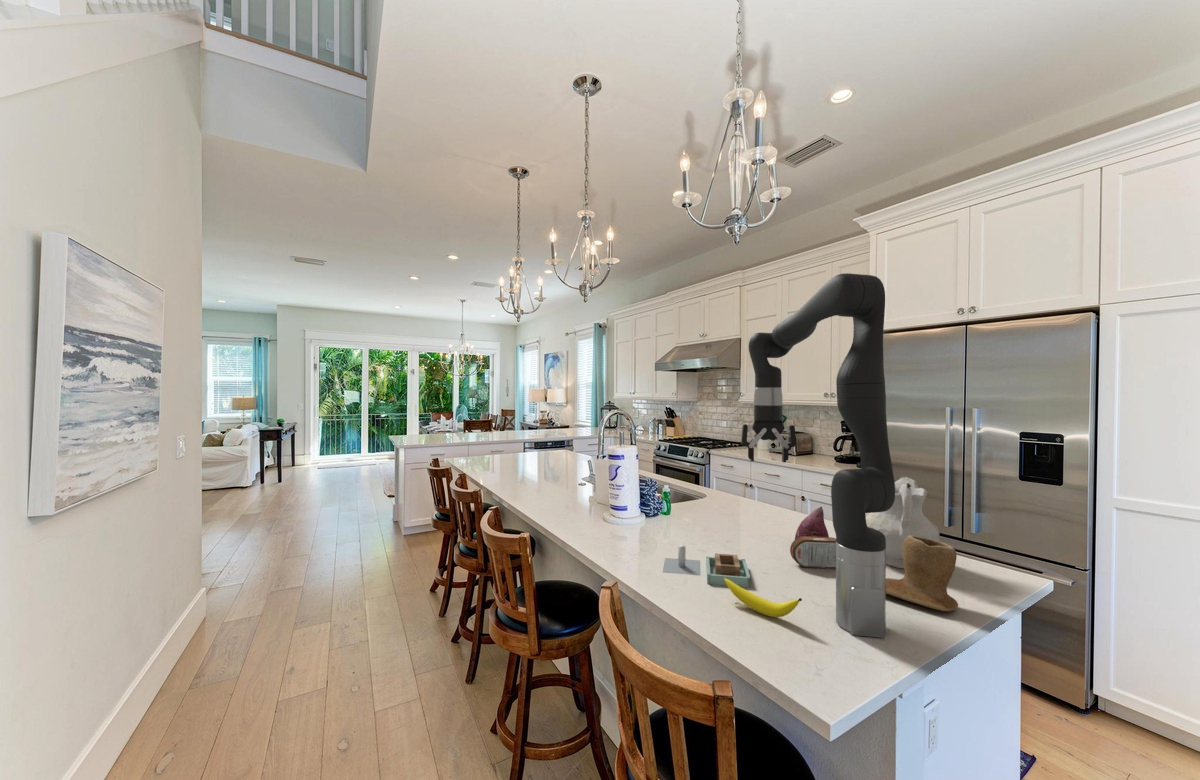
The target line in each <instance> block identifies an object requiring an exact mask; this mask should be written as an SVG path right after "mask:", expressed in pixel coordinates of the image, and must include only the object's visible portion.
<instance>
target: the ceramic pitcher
mask: <svg viewBox="0 0 1200 780" xmlns="http://www.w3.org/2000/svg"><path fill="white" fill-rule="evenodd" d="M927 495H928V491H927V489H925V488H922V487H919V486H918V484H917V480H915V479H912V478H910V477H908V476H903V475H901V476H900V477H899V479H897V480H896V481H895V500H894V503H893V505H892V507H891V508H890V509H889V510H887V511H884V512H876V513H866V514H865V515H866V523H867V526H868V527H870V528H873V529H876V530H878V531H880V532H882V533H883V534H884V535H885V538H886V565H887V566H890V567H893V568H895V569H896V568H897V569H904V563H903V556H902V548H903V542H904V540H905V538H906V537H907V536H909V535H911V536H917V537H923V538H927V539H931V540H935V541H939V542H940V531H939V528H938V526H937V525H936V524H935V523H934V522H933V521H931V520H930V519H928V517H926V516H925V515H924V512H923V504H924V501H925V500H926V497H927Z"/></svg>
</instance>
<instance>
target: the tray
mask: <svg viewBox="0 0 1200 780" xmlns="http://www.w3.org/2000/svg"><path fill="white" fill-rule="evenodd" d="M738 560H739V564H740V576H729V575H716V574H715V556H706V557H705V567H706V568H705V571H706V584H707V585H717V586H719V585H720V586H727V584H726V583H725V580H724V578H726V579H728V580H730V581H732V582H733V583H735V584H736V585H738V586H740V587H741V588H751V587H752V586H751V585H752V583H751V575H750V572H749V571H750V570H749V568H748V565H747V561H746V559H745V558H744V559H743V558H738Z"/></svg>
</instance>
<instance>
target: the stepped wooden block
mask: <svg viewBox="0 0 1200 780" xmlns="http://www.w3.org/2000/svg"><path fill="white" fill-rule="evenodd" d="M714 557H715V574H716V575H729V576H740V564H739V560H738V559H739V557H738V555H737V554H727V553H714Z"/></svg>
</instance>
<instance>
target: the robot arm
mask: <svg viewBox="0 0 1200 780" xmlns="http://www.w3.org/2000/svg"><path fill="white" fill-rule="evenodd" d="M885 312H886V290H885V286H884V283H883V282H882V280H881V279H880V278H879V277H878V276H875V275H871V274H863V273H862V274H860V273H859V274H858V273H849V272H847V273H840V274H837V275H834V276H833V277H832V278H830V279H829V280H828V281H826V283H824V285H822V286H821V288H820V289H819V290H817V292H816V293H815V294H814V295H812V296H811V297H810V298H809V299H808V300H807V301H806V303H804V304H803V306H802V307H800V308H799V309H798V310H796V311H795V312H793V314H791V315H790V316H788V317H786V318H785V319H783V320H782V321H780V322H779V323H777V325H775V326H774V328H773V329H772V332H756V333H753V334H752V336H751V337H750V339H749V341H748V353H749V357H750V359H751V363H752V366H753V370H754V394H753V395H754V397H753V424H746V423H742V427H741V442H740V443H741V445H742V446H745V447H746V448H747V458H748V460H750V462H755V448H754V446H755V445H756V444H758V442H759V441H760V440H761V441H768V440H770V441H775V440H777V442H778V443H780V445H781V446H782V448H781V462H782V463H787V461H789V451H790V448H795V447H796V446H797V443H796V442H797V440H796V427H795V425H794V424H787V425H784V422H783V390H782V385H783V384H782V377H783V376H782V369H781V368H780V367H778V366H775V365H772V364H770V362H769V360H768V359H778V358H779V359H780V358H782V357H785V356H786V355H787V354H788V353H789V352H790V351H791V350H792V349H793V347H795V346H796V345H797V344H800V343H801V342H803V341H805V340H806V339H808V338H809V337H810V336H812V334H813V333H814V332H815V330H816V328H817V325H818V323H819V322H821V321H823V320H826V319H828V318H832V317H835V316H838V317H845V318H852V320H853V323H852V324H853V333H852V334H853V335H852V337H853V338H852V341H851V342H852V343H851V346H850V348H849V350H848V352H847V354H846V356H845V357H844V359H843V361H842V363H841V364H840V366H839V370H838V372H837V375H836V380H835V382H836V384H835V385H836V403H837V409H838V412H839V414H840V416H841V418H842V419H843V421H844V423H845V424H846V426H847V427H848V429H849V430H850V432H851V433H852V435H853V436H854V438H855V440H856V442H857V445H858V449H859V455H860V468H844V469H839V470H838V471H837V472H835V474H834V475H833V478H832V480H831V486H830V489H831V490H830V493H831V494H830V498H831V499H830V500H831V512H832V513H831V514H832V525H833V530H834V533H835V538H836V569H835V622H836V624H837V625H838V626H839V627H840V628H842V629H843V630H845V631H847V632H849V633H850V634H851V635H853V636H862V637H863V636H865V637H872V638H882V639H884V638H885V634H886V631H887V630H886V628H887V625H886V622H887V621H886V620H887V619H886V618H887V616H886V615H887V611H886V608H887V607H886V604H887V603H886V601H887V600H886V599H887V597H886V596H887V595H886V578H887V577H886V576H887V575H886V572H887V571H886V565H887V564H886V538H885V535H884V534H883V533H882V532H880V531H878V530H876V529H873V528H870V527H868V526H867V523H866V515H867V514H869V513H876V512H884V511H887V510H889V509H890V508H891V507H892V505H893V503H894V500H895V482H896V481H895V475H894V469H893V463H892V459H891V450H890V446H889V436H888V434H889V433H888V423H887V421H888V419H887V401H886V400H887V397H886V396H887V394H886V381H885V368H884V367H885V365H884V363H885V362H884V327H885V314H886V313H885ZM751 430H753V432H754V433H755V434H754V436H753V437H752V438H751V440H750V441H748V433H750V431H751ZM784 430H785V432H786V433H788V440H789V442H786V440H785V439H784V437H783V436H782V433H783V432H784Z"/></svg>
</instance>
